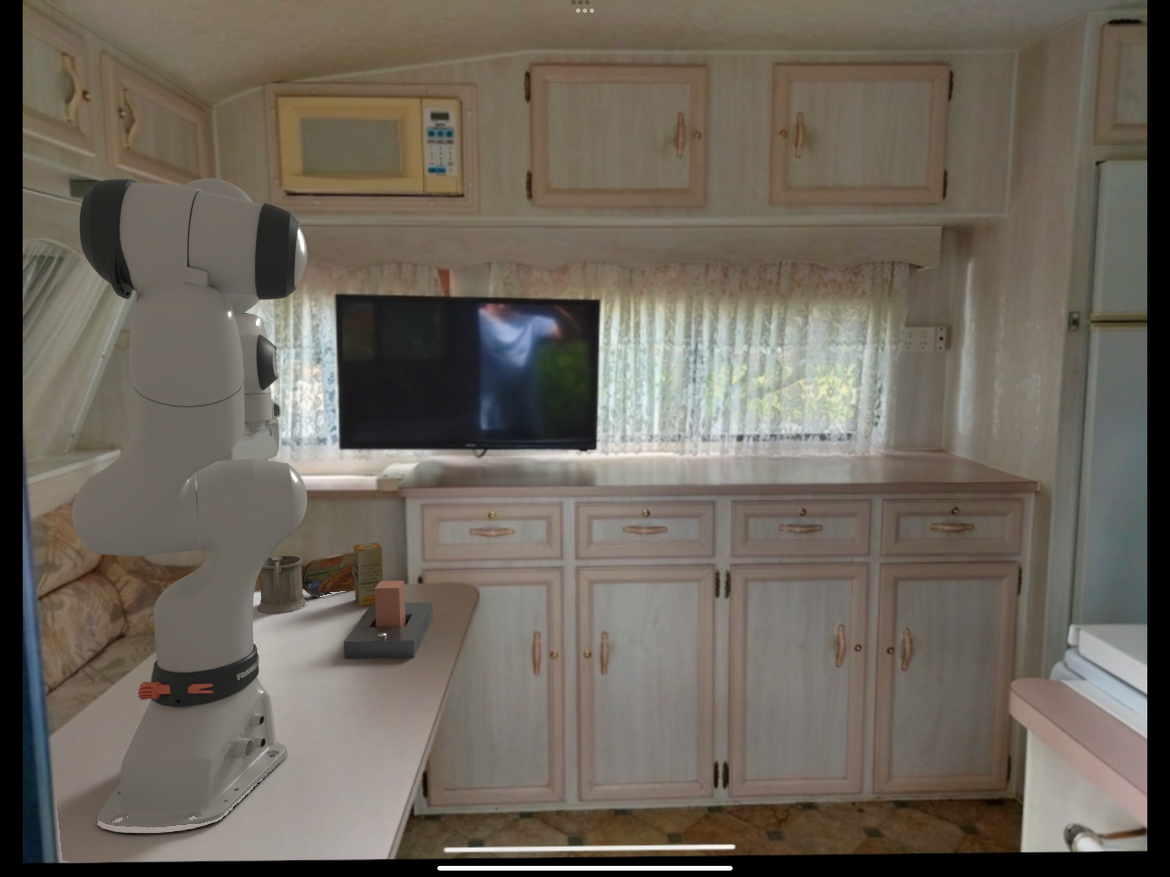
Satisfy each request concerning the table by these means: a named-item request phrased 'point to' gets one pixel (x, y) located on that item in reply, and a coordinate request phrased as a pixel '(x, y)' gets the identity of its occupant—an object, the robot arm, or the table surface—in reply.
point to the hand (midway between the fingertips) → (248, 490)
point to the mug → (281, 585)
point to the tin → (329, 575)
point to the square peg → (390, 604)
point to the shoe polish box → (367, 572)
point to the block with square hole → (389, 634)
